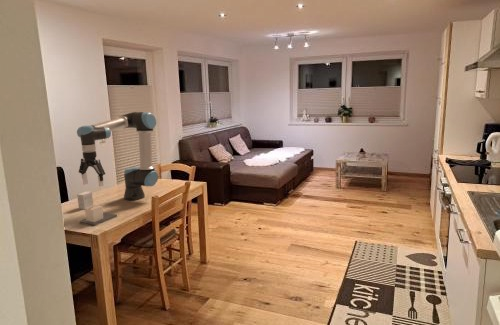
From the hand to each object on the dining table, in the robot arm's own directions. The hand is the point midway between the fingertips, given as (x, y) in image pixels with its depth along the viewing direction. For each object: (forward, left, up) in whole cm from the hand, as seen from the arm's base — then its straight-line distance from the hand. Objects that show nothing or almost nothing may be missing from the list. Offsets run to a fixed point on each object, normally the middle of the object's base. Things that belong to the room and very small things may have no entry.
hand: (93, 185), depth 219 cm
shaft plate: (0, +2, -23) cm, 23 cm away
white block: (+3, +2, -21) cm, 22 cm away
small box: (-14, -27, -23) cm, 38 cm away
